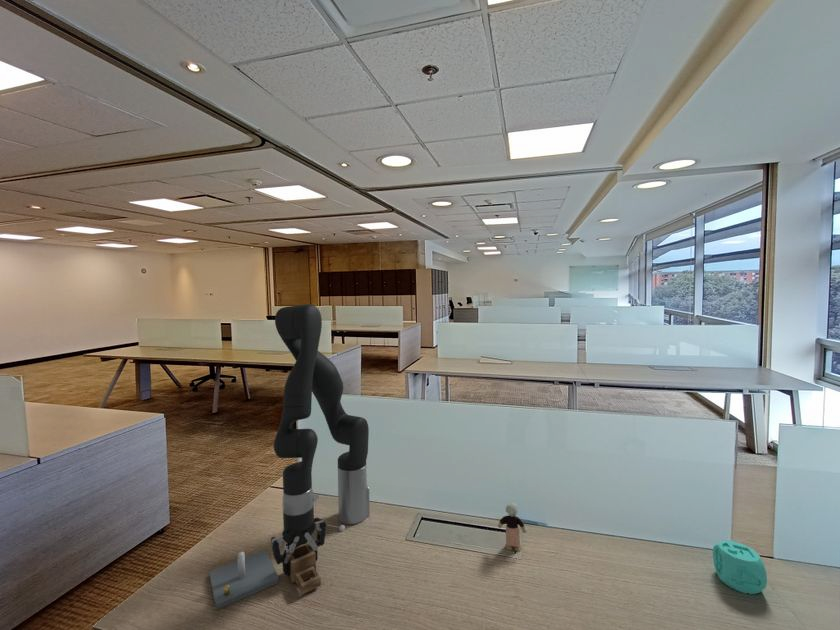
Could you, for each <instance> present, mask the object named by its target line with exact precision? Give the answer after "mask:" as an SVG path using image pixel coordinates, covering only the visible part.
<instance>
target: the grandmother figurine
mask: <svg viewBox="0 0 840 630" xmlns="http://www.w3.org/2000/svg"><path fill="white" fill-rule="evenodd" d="M518 509H519V508H518V506H517V504H516V503H513V502H510V503H508V504H507V505H506V506H505V512H506V513H507V514H508V515H505V516H503V517H502V518H501V519H499V522H498V524H497V527H498V528H499V529H501V528H502V527H503V525H506V526H505V542H506V543H505V547H506V550H509V551H512V550H513V548H514V550H515V551H516V552H520V551H521V550H522V549H523V547H522V544H521V535H520V528H521V531H522V533H523V534H526V533H527V530H526V527H525V524H524V522H523V521H522V519H521V518H519V517H518V516H516V515H517V514H518ZM519 527H520V528H519Z"/></svg>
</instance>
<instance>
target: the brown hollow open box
mask: <svg viewBox="0 0 840 630" xmlns="http://www.w3.org/2000/svg"><path fill="white" fill-rule="evenodd" d="M289 562H290V576H288V577H289V579H290V580H291V582H292V584H294V583H295V584H296V585H297V587H298V589H299V591H300V593H301V595H304V594H306V593H308V592H310V591H312V590H314V589H316V588H318V587H321V585H322V581H321V579H322V578H321V576H320V574H319V572H318V571H317V561H316V553H315V552H314V550H313V549H312V547H311V545H310V544H309V542H307V543H306V544H303V545H300V546H298V547H296V548H295V549H294V552H293V554H291V557H290V559H289Z"/></svg>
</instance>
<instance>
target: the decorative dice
mask: <svg viewBox="0 0 840 630" xmlns="http://www.w3.org/2000/svg"><path fill="white" fill-rule="evenodd" d="M712 548H713V549H712V558H713V559H712V560H713V565H714V569H715V573H716V574H717V577H718V578H719V579H720V581H721V582H722V583H724V584H725V585H726V586H728V587H729V588H730V589H732V590H735V591H737V592H740V593H743V594H747V593H749V595H755V594H758V593H761V592H762V591H764V590H765V589H766V588H767V585H768V584H767V583H768V576H767V571H766V570H767V569H766V567H765V563H764V561H763V559H762V558H761V556H760V554H759V553H758V552H756V550H754V549H753V548H751V547H749V546H747V545H745V544H743V543H740V542H737V541H733V540H722V541H719V542H717V543H716V544H715V545H714V546H713V547H712Z"/></svg>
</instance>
